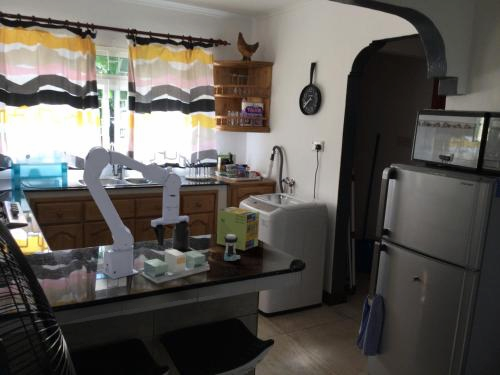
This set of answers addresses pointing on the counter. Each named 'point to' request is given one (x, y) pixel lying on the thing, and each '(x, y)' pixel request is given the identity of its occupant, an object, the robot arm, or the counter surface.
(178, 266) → the block
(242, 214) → the protein box
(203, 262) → the din panel
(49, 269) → the counter surface
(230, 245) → the push button
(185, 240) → the supplement bottle
